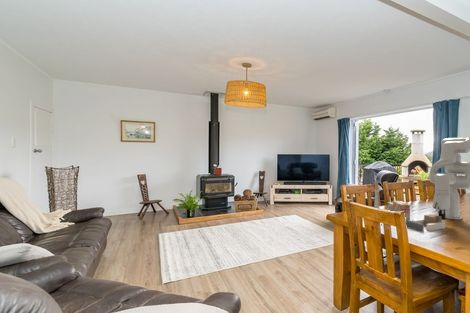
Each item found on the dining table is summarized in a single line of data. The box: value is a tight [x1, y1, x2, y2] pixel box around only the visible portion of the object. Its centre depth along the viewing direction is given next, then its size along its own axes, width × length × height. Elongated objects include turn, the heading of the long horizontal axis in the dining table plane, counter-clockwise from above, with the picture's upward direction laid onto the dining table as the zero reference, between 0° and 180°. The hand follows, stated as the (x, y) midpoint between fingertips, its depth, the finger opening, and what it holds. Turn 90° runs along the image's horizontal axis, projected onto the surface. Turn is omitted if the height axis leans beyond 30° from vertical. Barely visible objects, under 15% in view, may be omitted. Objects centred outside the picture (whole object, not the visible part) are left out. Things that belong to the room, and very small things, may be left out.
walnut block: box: [423, 213, 443, 226], centre depth 155 cm, size 7×6×7 cm
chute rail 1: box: [411, 218, 425, 226], centre depth 159 cm, size 14×2×4 cm, turn 107°
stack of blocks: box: [387, 200, 411, 221], centre depth 177 cm, size 21×6×12 cm, turn 168°
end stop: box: [405, 220, 425, 232], centre depth 151 cm, size 2×10×4 cm, turn 17°
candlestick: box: [373, 180, 380, 210], centre depth 165 cm, size 13×13×30 cm
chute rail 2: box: [426, 221, 446, 231], centre depth 150 cm, size 14×2×4 cm, turn 107°
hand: (441, 219), depth 158 cm, fingers closed
